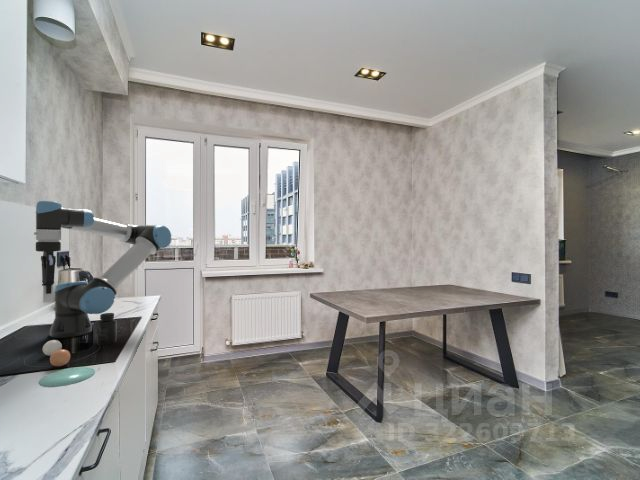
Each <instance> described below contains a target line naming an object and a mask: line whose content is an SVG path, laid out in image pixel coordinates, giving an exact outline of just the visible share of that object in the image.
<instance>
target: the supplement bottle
mask: <svg viewBox="0 0 640 480" xmlns="http://www.w3.org/2000/svg"><path fill="white" fill-rule="evenodd" d="M117 327H118V322H117V320H116V319H115V313H114V312H103V313H100V317H99V321H98V322H97V325H96V334H97V335H96V343H97V345H99V346H106V345H107V346H108V345H112V344H115V343H116V342H117V339H118V338H117V336H118V335H117V333H118V329H117Z"/></svg>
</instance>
